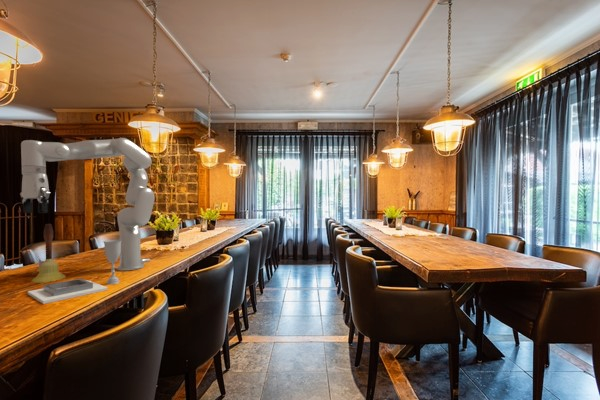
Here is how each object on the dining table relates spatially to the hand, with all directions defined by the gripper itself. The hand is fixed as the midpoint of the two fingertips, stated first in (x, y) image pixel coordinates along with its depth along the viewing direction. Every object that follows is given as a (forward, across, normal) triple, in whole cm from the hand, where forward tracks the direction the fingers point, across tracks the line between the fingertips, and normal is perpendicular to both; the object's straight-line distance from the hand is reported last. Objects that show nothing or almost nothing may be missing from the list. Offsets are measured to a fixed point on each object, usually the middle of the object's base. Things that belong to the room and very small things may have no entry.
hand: (35, 212), depth 127 cm
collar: (+31, -20, 0) cm, 36 cm away
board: (+31, -20, 0) cm, 36 cm away
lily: (+31, +26, -17) cm, 44 cm away
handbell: (+31, +10, -10) cm, 34 cm away
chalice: (+31, -24, -15) cm, 42 cm away
